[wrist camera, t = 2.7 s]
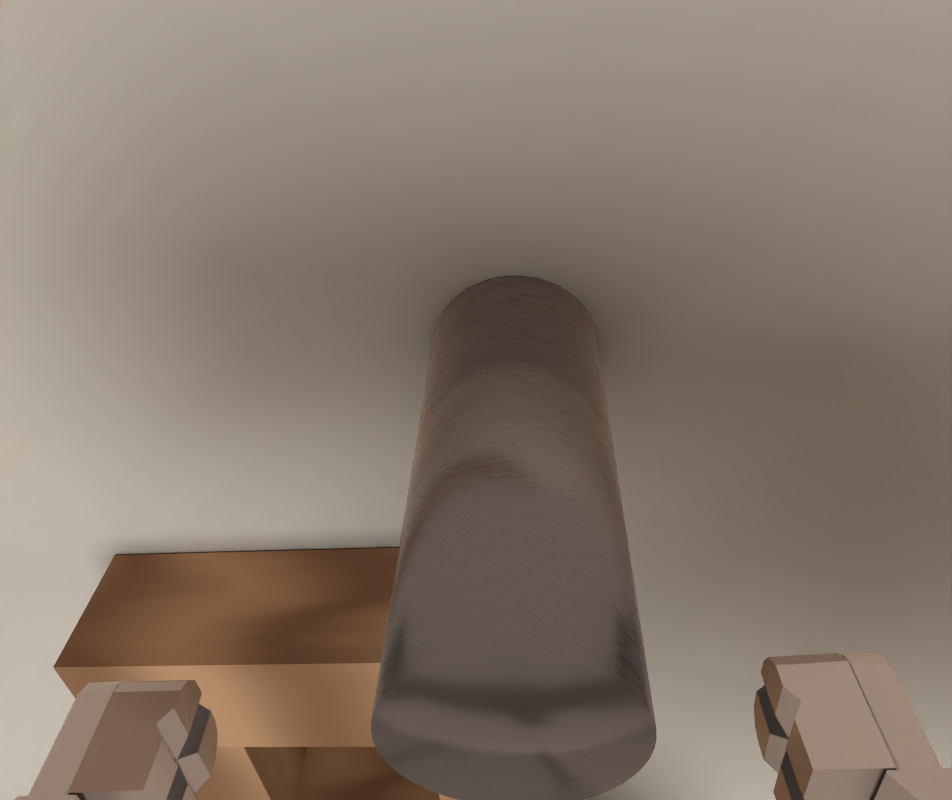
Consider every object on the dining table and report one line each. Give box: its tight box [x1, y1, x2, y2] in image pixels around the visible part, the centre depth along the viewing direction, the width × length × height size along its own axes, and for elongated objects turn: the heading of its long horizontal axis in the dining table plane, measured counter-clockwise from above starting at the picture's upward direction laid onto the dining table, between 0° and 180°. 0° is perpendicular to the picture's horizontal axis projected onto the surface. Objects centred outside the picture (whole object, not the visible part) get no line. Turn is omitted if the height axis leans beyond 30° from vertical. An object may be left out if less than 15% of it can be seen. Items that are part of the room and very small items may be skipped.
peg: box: [371, 276, 656, 800], centre depth 15 cm, size 4×4×10 cm
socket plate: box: [53, 548, 457, 800], centre depth 26 cm, size 14×14×4 cm
